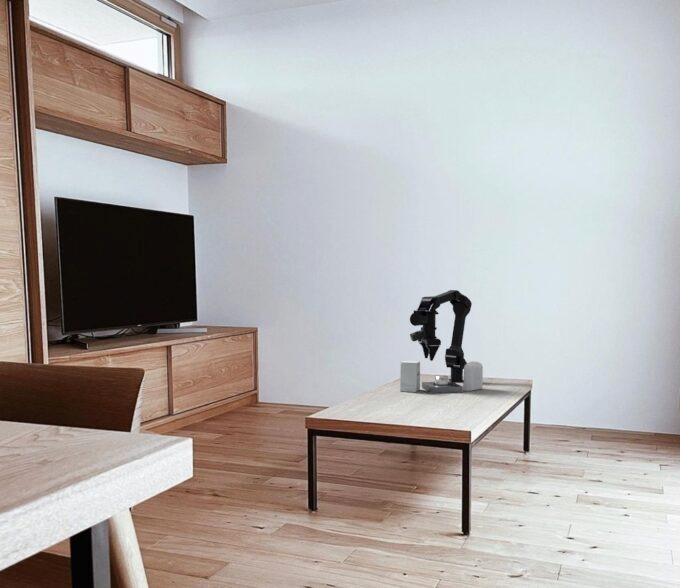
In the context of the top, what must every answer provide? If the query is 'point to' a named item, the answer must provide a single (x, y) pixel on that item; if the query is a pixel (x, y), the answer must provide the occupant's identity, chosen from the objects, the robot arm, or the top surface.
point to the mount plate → (442, 388)
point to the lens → (441, 380)
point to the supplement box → (410, 376)
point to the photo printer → (473, 376)
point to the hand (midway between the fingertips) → (428, 359)
